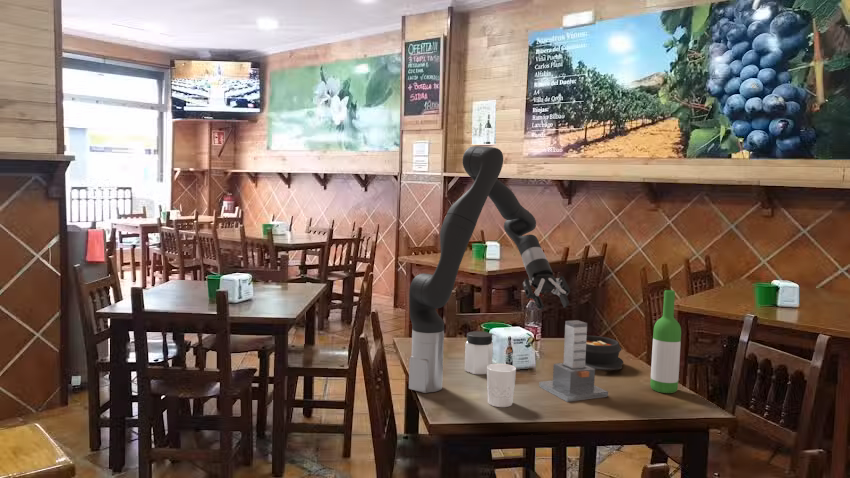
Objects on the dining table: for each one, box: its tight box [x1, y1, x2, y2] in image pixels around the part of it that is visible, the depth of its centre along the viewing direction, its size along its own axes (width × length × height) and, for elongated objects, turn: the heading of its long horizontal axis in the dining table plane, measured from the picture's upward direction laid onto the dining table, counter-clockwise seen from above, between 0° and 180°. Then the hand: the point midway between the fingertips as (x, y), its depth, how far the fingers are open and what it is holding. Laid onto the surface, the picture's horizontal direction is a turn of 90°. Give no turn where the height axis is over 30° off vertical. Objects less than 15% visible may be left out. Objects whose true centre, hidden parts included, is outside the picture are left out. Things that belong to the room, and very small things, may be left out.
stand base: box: [538, 362, 609, 403], centre depth 185 cm, size 14×14×8 cm
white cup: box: [486, 363, 517, 408], centre depth 173 cm, size 8×8×10 cm
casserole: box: [585, 335, 624, 371], centre depth 214 cm, size 25×19×8 cm
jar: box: [464, 330, 494, 375], centre depth 203 cm, size 9×8×12 cm
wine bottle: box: [649, 289, 682, 394], centre depth 188 cm, size 8×8×30 cm
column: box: [562, 319, 588, 370], centre depth 184 cm, size 5×5×19 cm
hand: (554, 307), depth 193 cm, fingers open, 8 cm apart
